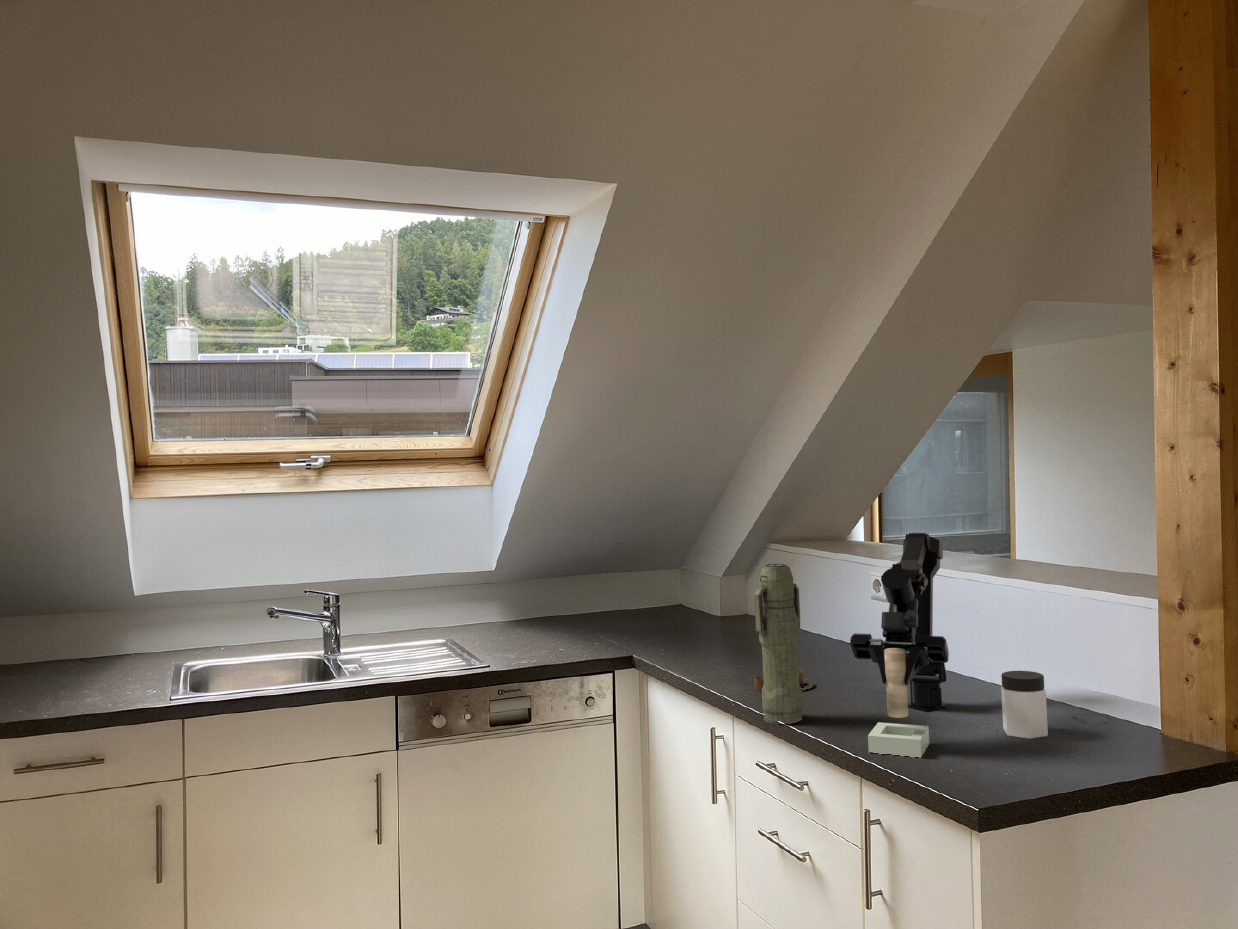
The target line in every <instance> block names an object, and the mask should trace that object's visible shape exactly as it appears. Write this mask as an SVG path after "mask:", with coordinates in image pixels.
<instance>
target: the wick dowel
mask: <svg viewBox="0 0 1238 929" xmlns="http://www.w3.org/2000/svg"><path fill="white" fill-rule="evenodd" d="M884 654H885V674H886V684H885V689H886V706H887V707H886V709H887V711H886V712H887V716H888V717H890V718H895V719H900V718H902V719H903V718H907V717H909V707H908V703H909V701H908V700H909V699H908V685H905V675H906V658H905V649H901V648H888V649H885V650H884Z"/></svg>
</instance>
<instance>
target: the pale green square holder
mask: <svg viewBox="0 0 1238 929" xmlns="http://www.w3.org/2000/svg"><path fill="white" fill-rule="evenodd" d="M929 728H930V727H929V725H918V724H906V723H905V724H903V723H893V722H880V721H878V722H877V723H876V725H875V726H874V727H873V728H872V730H871V731H870V732H869V733H868V735H867V744H868V746H867V747H868V753H869V752H873V753H879V754H878V755H881V754H892V755H891V756H893V755H900V756H899V757H904V756H909V757H908V758H915V757H919V758H918V759H922V758H923V756H922V755H924V754H925V752H926V750H927V749H926V748H928V747H929V745H930V731H929V730H930V729H929ZM921 757H922V758H921Z"/></svg>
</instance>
